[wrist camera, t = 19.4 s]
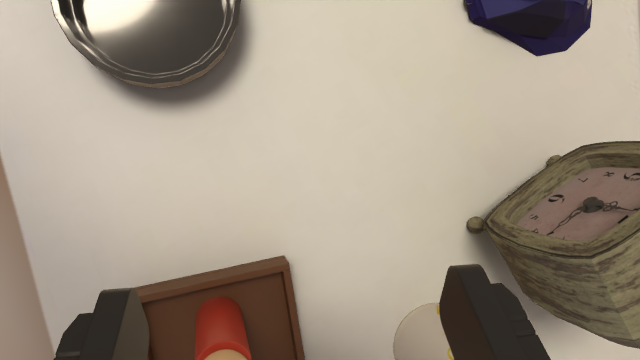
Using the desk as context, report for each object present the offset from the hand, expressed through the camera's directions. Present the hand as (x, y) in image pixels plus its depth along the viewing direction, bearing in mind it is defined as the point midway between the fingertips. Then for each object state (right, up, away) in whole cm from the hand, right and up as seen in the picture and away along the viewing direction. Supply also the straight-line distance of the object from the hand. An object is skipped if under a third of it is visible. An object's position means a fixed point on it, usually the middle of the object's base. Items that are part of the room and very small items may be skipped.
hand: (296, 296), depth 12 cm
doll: (-8, -9, +29) cm, 32 cm away
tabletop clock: (+21, 0, +37) cm, 43 cm away
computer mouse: (+21, +20, +34) cm, 45 cm away
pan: (-13, +17, +26) cm, 34 cm away
